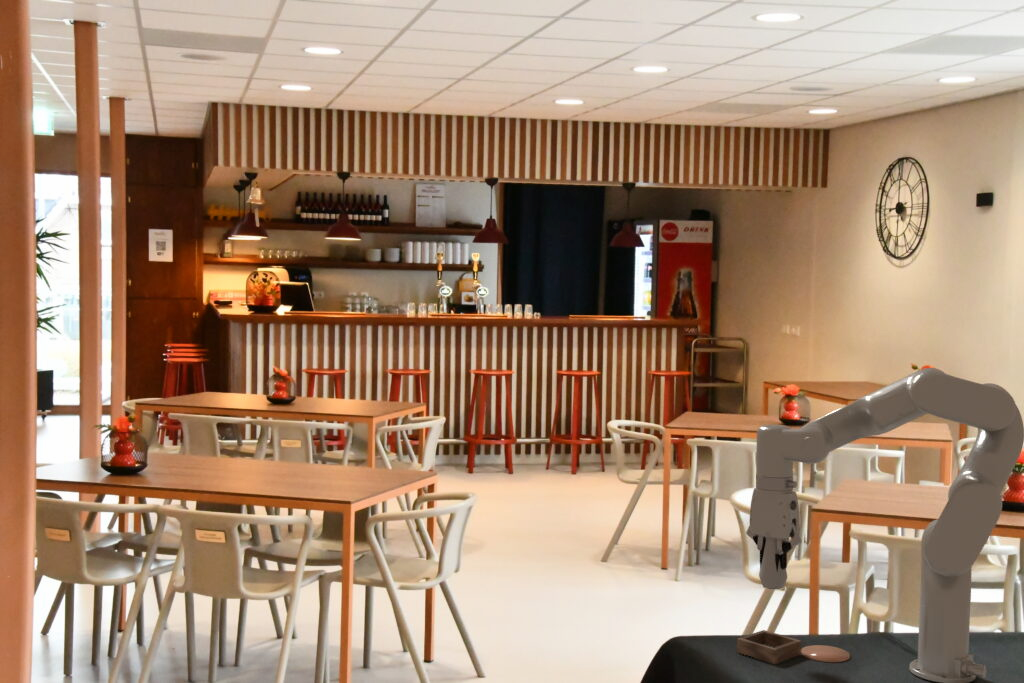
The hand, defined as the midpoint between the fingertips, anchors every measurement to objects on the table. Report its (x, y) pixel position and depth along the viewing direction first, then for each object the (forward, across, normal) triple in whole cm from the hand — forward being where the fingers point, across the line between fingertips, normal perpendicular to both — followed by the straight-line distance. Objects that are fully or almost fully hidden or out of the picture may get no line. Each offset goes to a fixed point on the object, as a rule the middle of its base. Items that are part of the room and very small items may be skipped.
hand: (773, 569), depth 240 cm
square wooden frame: (+18, 0, 0) cm, 18 cm away
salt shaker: (+4, 0, 0) cm, 4 cm away
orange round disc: (+18, -8, -9) cm, 22 cm away
